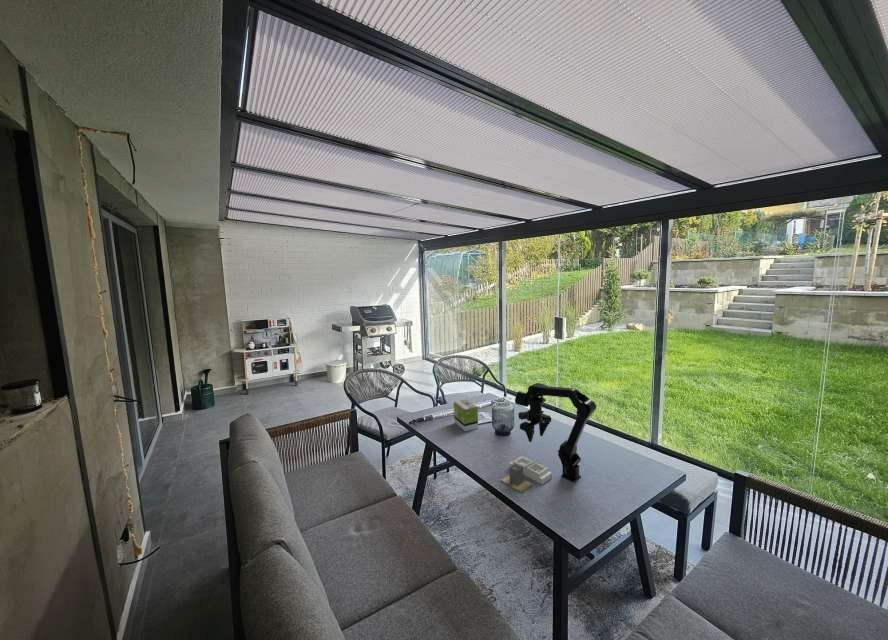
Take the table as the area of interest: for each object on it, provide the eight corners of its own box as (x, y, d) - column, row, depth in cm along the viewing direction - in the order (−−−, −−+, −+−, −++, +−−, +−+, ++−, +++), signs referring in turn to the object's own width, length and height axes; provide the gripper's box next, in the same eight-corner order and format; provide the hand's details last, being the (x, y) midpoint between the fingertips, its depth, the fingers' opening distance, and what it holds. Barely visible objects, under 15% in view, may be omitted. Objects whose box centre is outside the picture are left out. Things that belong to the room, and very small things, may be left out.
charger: (523, 481, 156) (523, 467, 155) (517, 485, 153) (517, 470, 152) (515, 477, 159) (515, 463, 158) (509, 481, 156) (509, 467, 155)
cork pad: (532, 485, 154) (532, 484, 154) (521, 492, 149) (521, 491, 149) (511, 474, 163) (511, 473, 163) (500, 480, 158) (500, 479, 158)
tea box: (453, 423, 224) (453, 401, 222) (467, 420, 228) (466, 398, 226) (464, 432, 210) (464, 409, 208) (478, 428, 214) (478, 406, 212)
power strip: (551, 477, 159) (551, 469, 159) (542, 484, 154) (542, 476, 154) (519, 462, 174) (519, 454, 173) (509, 467, 169) (509, 459, 168)
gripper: (533, 400, 181) (533, 428, 182) (510, 409, 169) (511, 439, 171) (551, 405, 172) (551, 435, 174) (529, 415, 160) (529, 447, 162)
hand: (535, 438), depth 170 cm, fingers open, 9 cm apart
